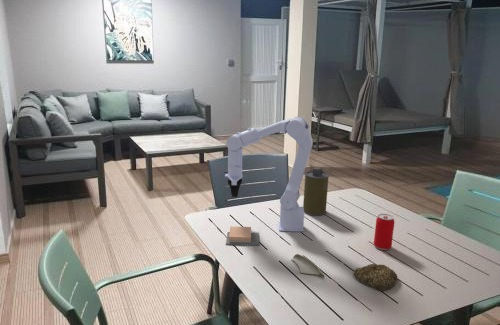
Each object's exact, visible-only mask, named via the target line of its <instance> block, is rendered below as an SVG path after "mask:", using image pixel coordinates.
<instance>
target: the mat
mask: <svg viewBox="0 0 500 325" xmlns="http://www.w3.org/2000/svg"><path fill="white" fill-rule="evenodd" d="M229 234H230V231H227V236H226V242H225V245H226V246H260V232H252V231H251V242H229Z"/></svg>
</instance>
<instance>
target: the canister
mask: <svg viewBox="0 0 500 325" xmlns="http://www.w3.org/2000/svg"><path fill="white" fill-rule="evenodd" d="M329 177H330V174H329V173H328V172H326V171H323V168H322V167H317V166H314V167H313V168H312V170H307V171H304V186H303V187H304V188H303V204H302V207H303V208H304V214H305V215H309V216H313V217H315V216H316V217H317V216H318V217H319V216H324V215H325V214H327V200H328V199H327V198H328V188H329V187H328V186H329Z"/></svg>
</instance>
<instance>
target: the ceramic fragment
mask: <svg viewBox="0 0 500 325" xmlns="http://www.w3.org/2000/svg"><path fill="white" fill-rule="evenodd" d="M290 261H291V262H293V263H294V264H296V266H297V267H298V269H299V273H300V274H302V275H303V274H304V275H309V276H317V275H318V276H320V277H322V276H323V277H325V275H324V274H323V272H322V270H321V269H320V268H319V267H318V266H317V264H315V262H313V261H312V260H311V259H309V258H307V257H306V256H304V255H301V254H299V253H296V254H295V255H293V257H292V259H290Z"/></svg>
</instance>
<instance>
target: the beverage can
mask: <svg viewBox="0 0 500 325" xmlns="http://www.w3.org/2000/svg"><path fill="white" fill-rule="evenodd" d="M374 228H375V229H374V238H373V246H374V247H376V248H377V249H379V250H382V251H387V250H390V249H391V248H392V245H393V238H394V228H395V219H394V216H393V215H391V214H387V213H378V215H377V217H376V220H375V227H374Z"/></svg>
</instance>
